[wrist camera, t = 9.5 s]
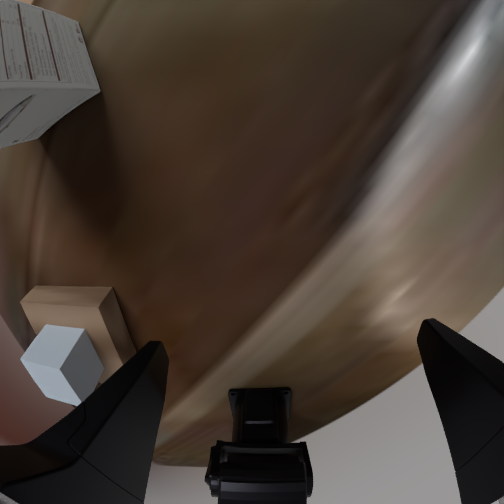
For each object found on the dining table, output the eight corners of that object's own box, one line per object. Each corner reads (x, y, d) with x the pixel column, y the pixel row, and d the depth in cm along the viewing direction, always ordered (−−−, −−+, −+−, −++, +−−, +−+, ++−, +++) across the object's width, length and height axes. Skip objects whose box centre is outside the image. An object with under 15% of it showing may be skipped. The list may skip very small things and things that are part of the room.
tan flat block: (142, 366, 27) (134, 388, 25) (70, 357, 28) (59, 374, 25) (112, 286, 23) (98, 307, 20) (35, 285, 23) (20, 301, 21)
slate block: (104, 368, 24) (85, 407, 19) (66, 361, 24) (46, 396, 19) (84, 328, 21) (59, 369, 17) (46, 324, 22) (20, 359, 17)
